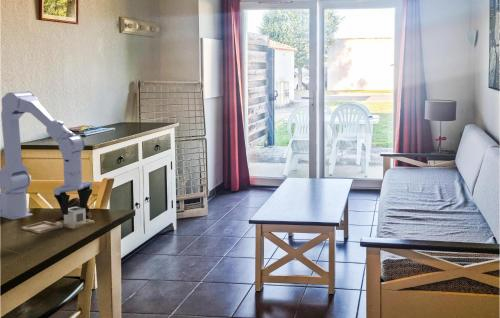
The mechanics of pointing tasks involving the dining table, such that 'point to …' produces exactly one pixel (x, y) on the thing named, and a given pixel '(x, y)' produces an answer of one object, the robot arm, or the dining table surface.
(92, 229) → the dining table surface
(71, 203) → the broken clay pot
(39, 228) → the tray near
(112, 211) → the dining table surface
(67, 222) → the white marked cube
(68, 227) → the tray far
